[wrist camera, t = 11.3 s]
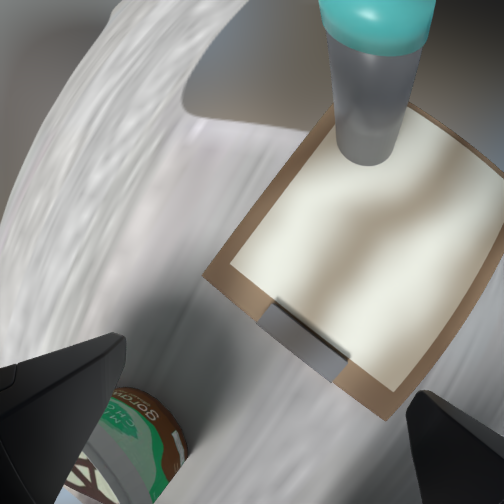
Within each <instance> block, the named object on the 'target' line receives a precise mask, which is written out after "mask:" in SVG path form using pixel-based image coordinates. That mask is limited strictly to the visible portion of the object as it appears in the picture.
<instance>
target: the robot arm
mask: <svg viewBox="0 0 504 504" xmlns="http://www.w3.org/2000/svg"><path fill="white" fill-rule="evenodd" d="M125 360H126V338H125V336H123V335H120V334H117V333H114V332H112V333H108V334H105V335H102V336H100V337H97V338H94V339H91V340H88V341H85V342H82V343H79V344H76V345H73V346H70V347H67V348H63V349H60V350H57V351H54V352H51V353H48V354H45V355H42V356H39V357H36V358H32V359H29V360H26V361H23V362H20V363H18V364H13V365H10V366H7V367H3V368H0V504H54V502H55V500H56V498H57V496H58V494H59V493H60V491H61V489H62V487H63V485H64V483H65V481H66V479H67V478H68V476H69V474H70V472H71V470H72V468H73V466H74V465H75V463H76V461H77V459H78V457H79V456H80V454H81V452H82V450H83V448H84V447H85V445H86V443H87V441H88V439H89V438H90V436H91V434H92V432H93V431H94V429H95V427H96V425H97V424H98V422H99V420H100V418H101V417H102V415H103V413H104V411H105V409H106V408H107V405H108V403H109V401H110V399H111V396H112V394H113V391H114V389H115V387H116V384H117V382H118V380H119V377H120V375H121V373H122V370H123V368H124V365H125ZM406 421H407V427H408V433H409V440H410V447H411V453H412V458H413V462H414V466H415V470H416V475H417V479H418V483H419V488H420V493H421V498H422V503H423V504H504V437H502V436H501V435H499V434H497V433H496V432H494V431H493V430H491V429H489V428H488V427H486V426H485V425H483V424H481V423H480V422H478V421H477V420H475V419H474V418H472V417H470V416H469V415H467V414H466V413H464V412H463V411H461V410H459V409H458V408H456V407H455V406H453V405H452V404H450V403H449V402H447V401H445V400H444V399H442V398H441V397H439V396H438V395H436V394H435V393H433V392H431V391H429V390H420V391H418V392H417V393H416V395H415V397H414V398H413V400H412V402H411V403H410V405H409V407H408V408H407V411H406Z"/></svg>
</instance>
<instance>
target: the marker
mask: <svg viewBox="0 0 504 504" xmlns="http://www.w3.org/2000/svg"><path fill="white" fill-rule="evenodd" d="M435 2H436V0H319V6H320V12H321V18H322V23H323V25H324V27H325V29H326V34H327V43H328V51H329V59H330V68H331V78H332V89H333V100H334V113H335V127H336V141H337V145H338V148H339V150H340V152H341V153H342V154H343V155H344V156H345V157H346V158H347V159H348V160H349V161H351V162H353V163H355V164H358V165H361V166H375V165H378V164H381V163H383V162H384V161H386V160H387V159H388V158H389V156H390V155H391V153H392V151H393V148H394V145H395V142H396V139H397V136H398V133H399V130H400V127H401V124H402V121H403V117H404V114H405V111H406V108H407V104H408V101H409V97H410V94H411V90H412V87H413V83H414V80H415V76H416V72H417V68H418V65H419V61H420V56H421V52H422V48H423V45H424V44H425V43H426V41H427V38H428V34H429V30H430V26H431V21H432V17H433V12H434V7H435Z"/></svg>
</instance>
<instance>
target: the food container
mask: <svg viewBox="0 0 504 504" xmlns="http://www.w3.org/2000/svg"><path fill="white" fill-rule="evenodd" d="M187 458H188V452H187V444H186V441H185V438H184V435H183V432H182V429H181V428H180V426H179V425H178V423H177V422H176V420H175V418H174V417H173V415H172V414H171V413H170V412H169V411H168V410H167V409H166V408H165V407H164V406H163V405H162V404H161V403H160V402H159V401H158V400H157V399H155V398H154V397H152V396H151V395H149V394H148V393H146V392H144V391H141V390H139V389H135V388H130V387H121V388H116V389H114V391H113V394H112V396H111V399H110V401H109V403H108V405H107V408H106V409H105V411H104V413H103V415H102V417H101V418H100V420H99V422H98V424H97V425H96V427H95V429H94V431H93V432H92V434H91V436H90V438H89V439H88V441H87V443H86V445H85V447H84V448H83V450H82V452H81V454H80V456H79V457H78V459H77V461H76V463H75V465H74V466H73V468H72V470H71V472H70V474H69V476H68V478H67V479H66V481H65V483H64V485H66V486H68V487H70V488H72V489H74V490H76V491H78V492H80V493H82V494H84V495H87V496H89V497H91V498H93V499H95V500H97V501H99V502H101V503H103V504H153V503H154V502H155V501H156V500H157V498H158V497H159V496H160V494H161V493H162V492H163V490H164V489H165V488H166V486H167V485H168V484H169V482H170V481H171V480H172V478H173V477H174V476H175V474H176V473H177V472H178V470H179V469H180V468H181V466H182V465H183V463H184V462H185V461H186V459H187Z"/></svg>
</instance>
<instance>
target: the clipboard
mask: <svg viewBox="0 0 504 504" xmlns="http://www.w3.org/2000/svg"><path fill="white" fill-rule="evenodd" d="M503 254H504V172H502V171H501V170H500V169H499V168H498V167H497V166H496V165H495V164H493V163H492V162H491V161H490V160H489V159H487V158H486V157H485V156H484V155H483V154H482V153H480V152H479V151H478V150H477V149H475V148H474V147H473V146H472V145H470V144H469V143H468V142H466V141H465V140H464V139H463V138H461V137H460V136H459V135H457V134H456V133H454V132H453V131H452V130H451V129H449V128H448V127H446V126H445V125H444V124H442V123H441V122H439V121H438V120H436V119H435V118H433V117H432V116H431V115H429V114H427V113H426V112H424V111H423V110H421V109H420V108H418V107H417V106H415V105H414V104H412V103H410V102H409V101H408V104H407V108H406V111H405V114H404V117H403V121H402V124H401V127H400V130H399V133H398V136H397V139H396V142H395V145H394V148H393V151H392V153H391V155H390V156H389V158H388V159H387V160H386V161H384V162H383V163H381V164H378V165H375V166H361V165H358V164H355V163H353V162H351V161H349V160H348V159H347V158H346V157H345V156H344V155H343V154H342V153H341V152H340V150H339V148H338V145H337V141H336V127H335V113H334V102H333V104H332V105H331V106H330V107H329V109H328V110H327V111H326V112H325V114H324V115H323V116H322V117H321V119H320V120H319V121H318V122H317V124H316V125H315V126H314V128H313V129H312V130H311V131H310V133H309V134H308V135H307V136H306V138H305V139H304V140H303V142H302V143H301V144H300V145H299V147H298V148H297V149H296V151H295V152H294V153H293V154H292V156H291V157H290V158H289V160H288V161H287V162H286V163H285V165H284V166H283V167H282V169H281V170H280V171H279V173H278V174H277V175H276V177H275V178H274V179H273V180H272V182H271V183H270V184H269V186H268V187H267V188H266V190H265V191H264V192H263V194H262V195H261V196H260V198H259V199H258V200H257V201H256V203H255V204H254V205H253V207H252V208H251V209H250V211H249V212H248V213H247V215H246V216H245V217H244V219H243V220H242V221H241V223H240V224H239V225H238V227H237V228H236V229H235V231H234V232H233V233H232V235H231V236H230V238H229V239H228V240H227V242H226V243H225V244H224V246H223V247H222V248H221V250H220V251H219V252H218V254H217V255H216V256H215V258H214V259H213V261H212V262H211V263H210V265H209V266H208V267H207V269H206V270H205V271H204V273H203V274H202V276H203V277H204V278H205V279H206V280H207V281H208V282H209V283H211V284H212V285H213V286H214V287H215V288H216V289H218V290H219V291H220V292H221V293H222V294H223V295H225V296H226V297H227V298H228V299H229V300H231V301H232V302H233V303H234V304H235V305H237V306H238V307H239V308H240V309H241V310H243V311H244V312H245V313H246V314H247V315H249V316H250V317H251V318H252V319H253V320H255V321H256V322H257V323H256V324H257V325H258V326H260V327H261V328H262V329H263V330H265V331H266V332H267V333H268V334H269V335H271V336H272V337H273V338H274V339H276V340H277V341H278V342H279V343H281V344H282V345H283V346H284V347H286V348H287V349H288V350H289V351H291V352H292V353H293V354H294V355H296V356H297V357H298V358H300V359H301V360H302V361H303V362H305V363H306V364H307V365H308V366H310V367H311V368H312V369H314V370H315V371H316V372H317V373H319V374H320V375H321V376H323V377H324V378H325V379H327V380H328V381H329V382H331V383H332V382H333V383H334V384H335V385H337V386H338V387H339V388H341V389H342V390H343V391H345V392H346V393H347V394H349V395H350V396H351V397H353V398H354V399H355V400H357V401H358V402H360V403H361V404H362V405H364V406H365V407H366V408H368V409H369V410H370V411H372V412H373V413H375V414H376V415H377V416H379V417H380V418H382V419H383V420H384V421H387V420H388V419H389V418H390V417H391V416H392V415H393V413H394V412H395V411H396V410H397V409H398V408H399V407H400V406H401V405H402V403H403V402H404V401H405V400H406V399H407V398H408V397H409V395H410V394H411V393H412V392H413V391H414V390H415V388H416V387H417V386H418V385H419V383H420V382H421V381H422V380H423V379H424V377H425V376H426V375H427V374H428V372H429V371H430V370H431V368H432V367H433V366H434V365H435V363H436V362H437V361H438V359H439V358H440V357H441V355H442V354H443V352H444V351H445V350H446V348H447V347H448V346H449V344H450V343H451V341H452V340H453V338H454V337H455V336H456V334H457V333H458V331H459V330H460V328H461V327H462V325H463V324H464V322H465V320H466V319H467V317H468V316H469V314H470V313H471V311H472V309H473V308H474V306H475V305H476V303H477V301H478V300H479V298H480V296H481V294H482V293H483V291H484V289H485V288H486V286H487V284H488V282H489V280H490V279H491V277H492V275H493V273H494V271H495V269H496V267H497V265H498V264H499V262H500V260H501V258H502V256H503Z"/></svg>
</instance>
